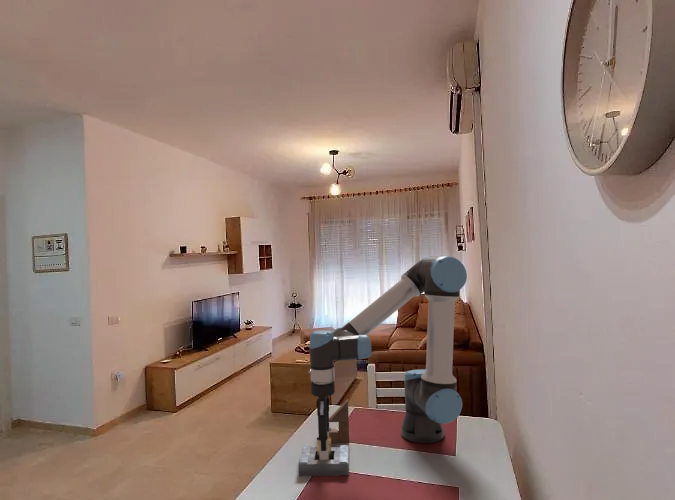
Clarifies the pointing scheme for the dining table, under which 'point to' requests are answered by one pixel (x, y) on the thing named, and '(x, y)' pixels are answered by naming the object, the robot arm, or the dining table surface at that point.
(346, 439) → the brown wooden stand
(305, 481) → the dining table surface
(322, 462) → the jig
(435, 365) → the robot arm
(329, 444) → the bushing
